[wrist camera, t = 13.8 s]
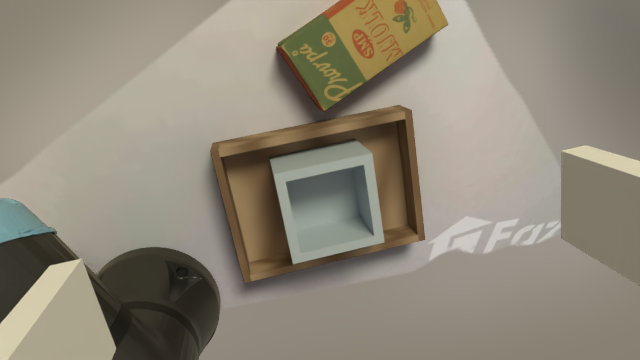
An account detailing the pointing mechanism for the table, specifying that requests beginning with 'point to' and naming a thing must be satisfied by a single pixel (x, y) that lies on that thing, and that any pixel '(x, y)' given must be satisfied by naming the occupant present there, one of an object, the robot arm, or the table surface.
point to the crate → (254, 151)
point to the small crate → (328, 199)
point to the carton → (357, 43)
